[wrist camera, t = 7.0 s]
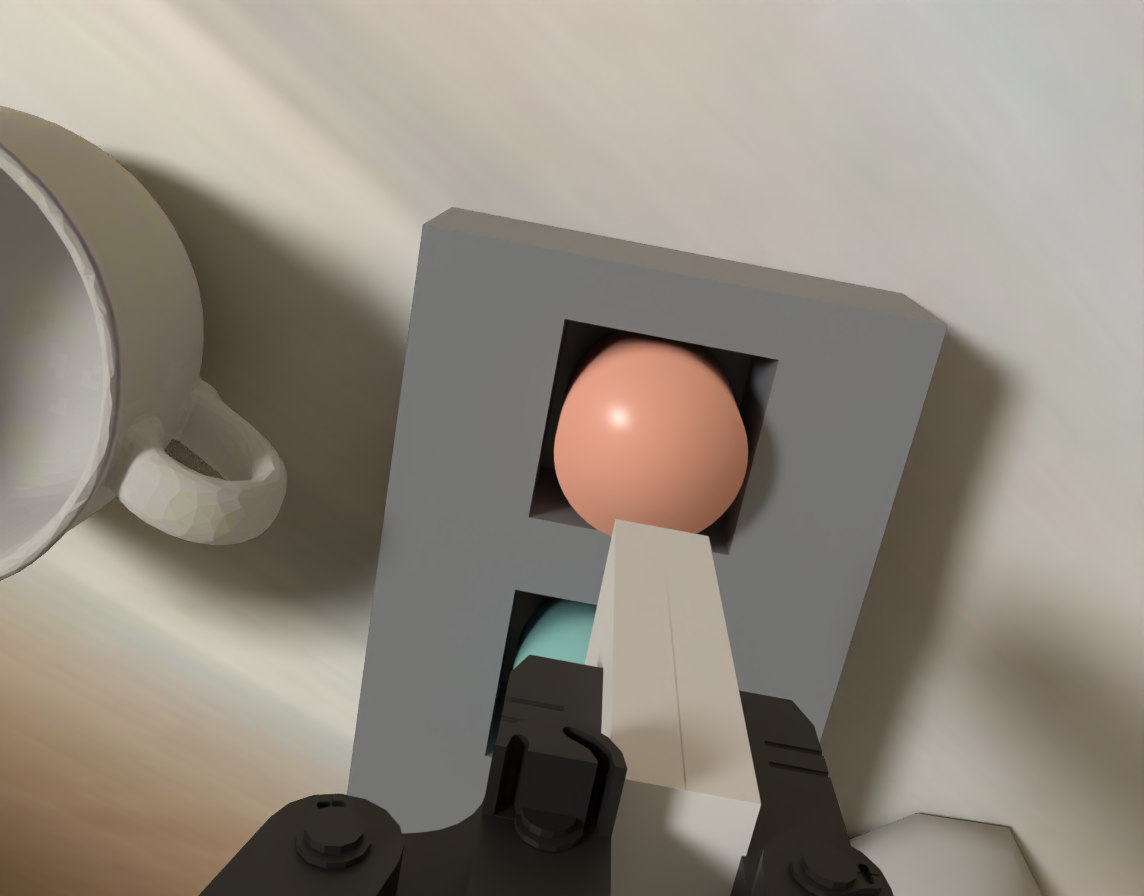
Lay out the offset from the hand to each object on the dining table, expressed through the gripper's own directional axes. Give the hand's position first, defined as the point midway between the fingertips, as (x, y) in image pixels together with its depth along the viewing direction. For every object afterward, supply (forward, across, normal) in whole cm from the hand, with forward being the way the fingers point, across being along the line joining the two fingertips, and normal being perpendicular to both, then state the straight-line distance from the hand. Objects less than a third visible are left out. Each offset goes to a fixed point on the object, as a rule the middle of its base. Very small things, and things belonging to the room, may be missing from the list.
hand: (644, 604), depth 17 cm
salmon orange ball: (+11, 0, 0) cm, 11 cm away
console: (+12, 0, -7) cm, 14 cm away
